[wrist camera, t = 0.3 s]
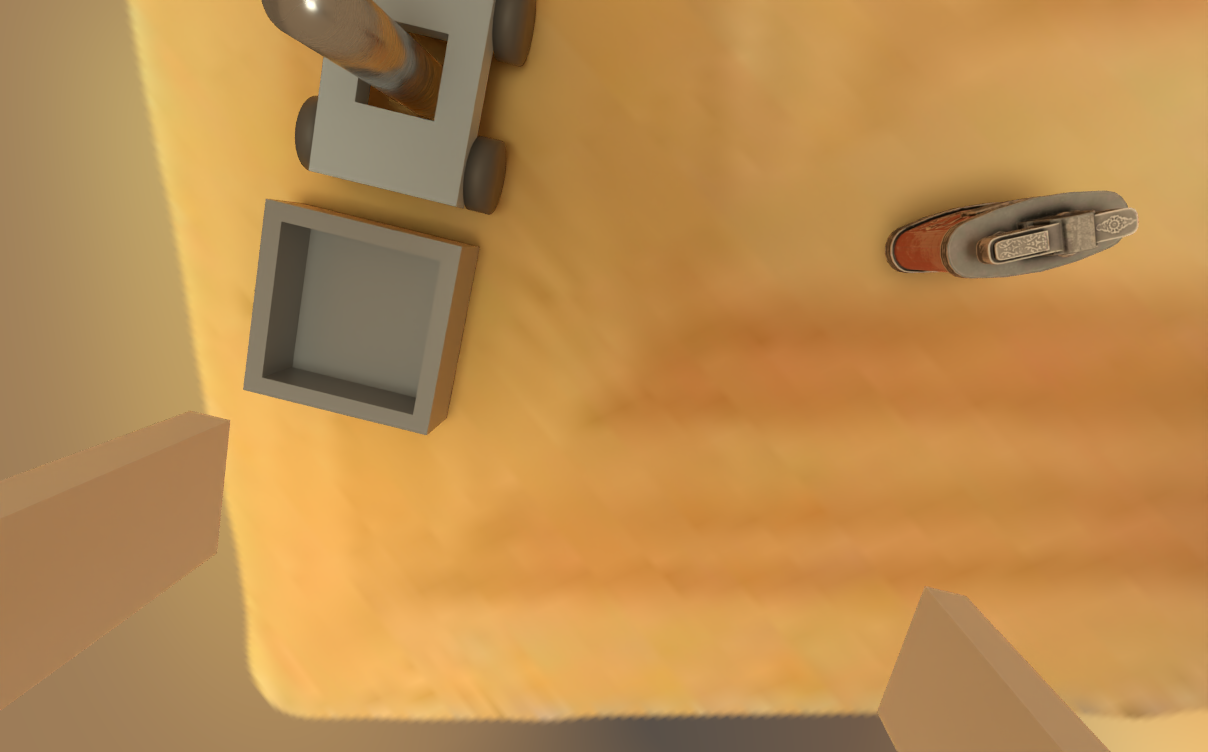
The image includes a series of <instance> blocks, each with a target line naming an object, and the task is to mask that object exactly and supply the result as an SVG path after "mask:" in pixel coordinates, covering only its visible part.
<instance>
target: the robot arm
mask: <svg viewBox="0 0 1208 752" xmlns="http://www.w3.org/2000/svg"><path fill="white" fill-rule="evenodd" d="M229 428H230V420H227V419H223V418H218V417H214V416H210V415H206V414H202V413H197V412H193V411H188V412H185V413H183V414H180V415H177V416H175V417H172V418H169V419H166V420H164V421H161V422H158V423H156V424H153V425H150V426H147V427H145V428H142V429H139V430H137V431H134V432H131V433H128V434H126V435H123V436H120V437H118V438H115V439H112V440H110V441H107V442H104V443H101V444H98V445H96V446H93V447H90V448H88V449H85V450H82V451H80V452H77V453H74V454H71V455H69V456H66V457H63V458H60V459H58V460H55V461H52V462H50V463H47V464H44V465H42V466H39V467H36V468H33V469H31V470H28V471H25V472H23V473H20V474H17V475H14V476H12V477H9V478H6V479H4V480H1V481H0V711H1V710H2V709H3V708H5V707H6V706H8V705H9V704H10V703H12V702H13V701H14V700H16V699H17V698H19V697H20V696H21V695H23V694H24V693H25V692H27V691H28V690H30V689H31V688H32V687H33V686H35V685H36V684H38V683H39V682H41V681H42V680H43V679H45V678H46V677H47V676H49V675H50V674H52V673H53V672H54V671H56V670H57V669H58V668H60V667H61V666H62V665H64V664H65V663H67V662H68V661H69V660H71V659H72V658H74V657H75V656H76V655H78V654H79V653H80V652H82V651H83V650H85V649H86V648H87V647H89V646H90V645H91V644H93V643H94V642H95V641H97V640H98V639H100V638H101V637H102V636H104V635H105V634H106V633H108V632H109V631H111V630H112V629H113V628H115V627H116V626H117V625H119V624H120V623H122V622H123V621H124V620H126V619H127V618H128V617H130V616H131V615H133V614H134V613H135V612H137V611H138V610H140V609H141V608H142V607H144V606H145V605H146V604H148V603H149V602H150V601H152V600H153V599H155V598H156V597H157V596H159V595H160V594H161V593H163V592H164V591H166V590H167V589H168V588H170V587H171V586H172V585H174V584H175V583H176V582H178V581H179V580H181V579H182V578H183V577H185V576H186V575H188V574H189V573H190V572H192V571H193V570H194V569H196V568H197V567H199V566H200V565H201V564H203V563H204V562H205V561H207V560H208V559H210V558H211V557H212V556H214V555H215V554H216V553H217V546H218V536H219V526H220V516H221V507H222V497H223V487H224V477H225V467H226V457H227V447H228V438H229ZM877 713H878V715H879V717H880V719H881V721H882V723H883V725H884V727H885V729H886V730H887V733H888V735H889V737H890V738H891V741H892V743H893V745H894V746H895V748H896V750H897V752H1110V751H1109V750H1108V749H1107V747H1106V746H1105V745H1104V744H1103V743H1102V742H1101V741H1100V740H1099V739H1098V738H1097V737H1096V736H1095V735H1094V733H1093V732H1092V731H1091V730H1090V729H1089V728H1088V727H1087V726H1086V725H1085V724H1084V723H1083V722H1082V721H1081V719H1080V718H1079V717H1078V716H1077V715H1076V714H1075V713H1074V712H1073V711H1072V710H1071V709H1070V708H1069V707H1068V705H1067V704H1066V703H1065V702H1064V701H1063V700H1062V699H1061V698H1060V697H1059V696H1058V695H1057V694H1056V693H1055V691H1054V690H1053V689H1052V688H1051V687H1050V686H1049V685H1048V684H1047V683H1046V682H1045V681H1044V680H1043V679H1042V677H1041V676H1040V675H1039V674H1038V673H1037V672H1036V671H1035V670H1034V669H1033V668H1032V667H1031V666H1030V665H1029V663H1028V662H1027V661H1026V660H1025V659H1024V658H1023V657H1022V656H1021V655H1020V654H1019V653H1018V652H1017V651H1016V649H1015V648H1014V647H1013V646H1012V645H1011V644H1010V643H1009V642H1008V641H1007V640H1006V639H1005V638H1004V637H1003V635H1002V634H1001V633H1000V632H999V631H998V630H997V629H996V628H995V627H994V626H993V625H992V624H991V623H990V621H989V620H988V619H987V618H986V617H985V616H984V615H983V614H982V613H981V612H980V611H979V610H978V609H977V607H976V606H975V605H974V604H973V603H972V602H971V601H970V600H969V599H968V598H967V597H966V596H964V595H959V594H955V593H951V592H947V591H943V590H939V589H934V588H930V587H926V586H925V587H924V590H923V593H922V595H921V598H920V601H919V603H918V606H917V608H916V611H915V614H914V616H913V619H912V622H911V624H910V627H909V629H908V632H907V635H906V637H905V640H904V643H903V645H902V648H901V650H900V653H899V656H898V658H897V661H896V664H895V666H894V669H893V671H892V674H891V677H890V679H889V682H888V685H887V687H886V690H885V692H884V695H883V698H882V700H881V703H880V706H879V708H878V711H877Z"/></svg>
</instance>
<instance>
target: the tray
mask: <svg viewBox="0 0 1208 752" xmlns="http://www.w3.org/2000/svg"><path fill="white" fill-rule="evenodd" d="M478 252H479V247H477V246H473V245H469V244H465V243H461V242H457V241H453V240H449V239H445V238H441V237H437V236H433V235H429V234H424V233H420V232H416V231H412V230H408V229H404V228H400V227H396V226H392V225H388V224H384V223H380V222H376V221H372V220H368V219H363V218H359V217H355V216H351V215H347V214H343V213H339V212H335V211H331V210H327V209H323V208H319V207H315V206H311V205H307V204H302V203H295V202H287V201H280V200H272V199H266V202H265V211H264V219H263V228H262V236H261V244H260V253H259V261H258V270H257V278H256V287H255V295H254V303H253V312H252V320H251V329H250V337H249V346H248V354H247V362H246V371H245V379H244V388H243V390H246V391H250V392H254V393H258V394H263V395H267V396H271V397H275V398H279V399H283V400H287V401H291V402H295V403H299V404H303V405H307V406H311V407H315V408H319V409H323V410H327V411H331V412H335V413H339V414H343V415H347V416H351V417H355V418H359V419H363V420H367V421H372V422H376V423H380V424H384V425H388V426H392V427H396V428H400V429H404V430H408V431H412V432H416V433H420V434H424V435H428V434H429V433H430V432H431V431H432V430H433V429H434V428H435V427H437V426H438V425H439V424H440V423H441V422H442V421H443V420H445V419H446V418H447V413H448V408H449V403H450V398H451V392H452V387H453V382H454V377H455V372H456V367H457V361H458V356H459V351H460V346H461V341H462V335H463V330H464V325H465V320H466V315H467V309H468V304H469V299H470V294H471V289H472V283H473V278H474V273H475V268H476V263H477V258H478Z"/></svg>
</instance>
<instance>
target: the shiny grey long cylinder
mask: <svg viewBox="0 0 1208 752" xmlns="http://www.w3.org/2000/svg"><path fill="white" fill-rule="evenodd" d="M262 4H263V7H264V9H265V12H266V13H267V15H268V17H269V18H270V20H271V21H272V22H273V23H274V25H275V26H276V27H278V28H279V29H280V30H281V31H283V32H284V33H286V34H288V35H289V36H291V37H292V38H294V39H296V40H297V41H299V42H301V43H302V44H304V45H306V46H307V47H309V48H310V49H312V50H314V51H315V52H317V53H319V54H320V55H322V56H324V57H325V58H327V59H328V60H330V61H332V62H333V63H335V64H337V65H338V66H340V67H342V68H343V69H345V70H346V71H348V72H350V73H351V74H353V75H355V76H356V77H358V78H360V79H361V80H363V81H365V82H366V83H368V84H369V85H371V86H373V87H374V88H376V89H378V90H379V91H381V92H383V93H384V94H386V95H387V96H389V97H391V98H392V99H394V100H396V101H397V102H399V103H401V104H402V105H404V106H405V107H407V108H409V109H410V110H412V111H414V112H415V113H417V114H419V115H420V116H422V117H425V118H435V113H436V107H437V101H438V95H439V89H440V83H441V78H442V72H443V66H442V65H441V64H440V63H439V62H438V61H437V60H436V59H435V58H434V57H433V56H432V55H430V54H429V53H428V52H427V51H426V50H425V49H424V48H423V47H422V46H421V45H420V44H419V43H418V42H417V41H415V40H414V39H413V38H412V37H411V36H410V35H409V34H408V33H407V32H406V31H405V30H404V29H403V28H402V27H400V26H399V25H398V24H397V23H396V22H395V21H394V20H393V19H392V18H391V17H390V16H389V15H388V14H387V13H385V12H384V11H383V10H382V9H381V8H380V7H379V6H378V5H377V4H376V3H375V2H374V1H373V0H262Z"/></svg>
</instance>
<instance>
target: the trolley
mask: <svg viewBox="0 0 1208 752" xmlns="http://www.w3.org/2000/svg"><path fill="white" fill-rule="evenodd" d="M373 1H374V2H375V3H376V4H377V5H378V6H379V7H380V8H381V9H382V10H383V11H384V12H385V13H387V14H388V15H389V16H390V17H391V18H392V19H393V20H394V21H395V22H396V23H397V24H398V25H399V26H400V27H402V28H403V29H404V30H405V31H407V32H411V33H415V34H420V35H424V36H428V37H432V38H436V39H440V40H444V41H448V42H447V48H446V54H445V60H444V66H443V72H442V78H441V83H440V89H439V95H438V101H437V107H436V113H435V119H434V121H431V120H427V119H423V118H419V117H415V116H410V115H406V114H402V113H398V112H394V111H390V110H386V109H382V108H378V107H374V106H370V105H368V100H369V93H370V86H371V85H369V84H368V83H366V82H365V81H363V80H361V79H360V78H358V77H356V76H355V75H353V74H351V73H350V72H348V71H346V70H345V69H343V68H342V67H340V66H338V65H337V64H335V63H333V62H332V61H330V60H328V59H327V58H325V57H324V58H323V65H322V73H321V80H320V88H319V96H312V97H310V98H309V99H307V100H306V101H305V103H304V104H303V106H302V107H301V109H300V112H299V115H298V118H297V122H296V128H295V144H296V151H297V154H298V157H299V160H300V162H301V164H302V165H303V166H304V167H305V168H306V169H307V170H309V171H313V172H317V173H321V174H325V175H329V176H333V177H337V178H341V179H345V180H349V181H353V182H357V183H362V184H366V185H370V186H374V187H378V188H382V189H386V190H390V191H394V192H398V193H402V194H406V195H410V196H414V197H419V198H423V199H427V200H431V201H435V202H439V203H443V204H447V205H451V206H455V207H459V208H464V205H465V207H466V208H467V209H468V210H472V211H476V212H480V213H484V214H489V215H490V214H492V213H493V212H494V210H495V208H496V206H497V204H498V201H499V198H500V195H501V192H502V188H503V183H504V178H505V171H506V147H505V144H504V142H503V141H500V140H496V139H492V138H487V137H483V136H478V137H477V135H478V130H479V124H480V119H481V114H482V108H483V103H484V97H485V92H486V87H487V81H488V76H489V70H490V65H491V60H492V54H493V51H494V56H495V58H496V60H497V61H500V62H505V63H509V64H513V65H517V66H522V65H523V64H524V62H525V60H526V58H527V55H528V52H529V49H530V45H531V40H532V35H533V30H534V22H535V11H536V0H373Z"/></svg>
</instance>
